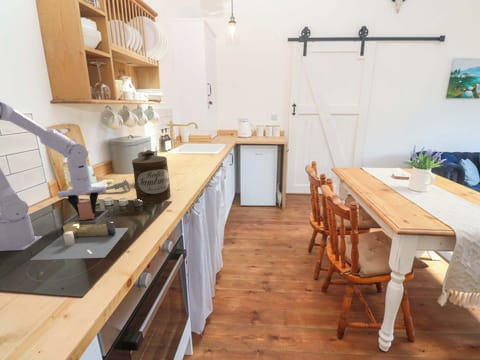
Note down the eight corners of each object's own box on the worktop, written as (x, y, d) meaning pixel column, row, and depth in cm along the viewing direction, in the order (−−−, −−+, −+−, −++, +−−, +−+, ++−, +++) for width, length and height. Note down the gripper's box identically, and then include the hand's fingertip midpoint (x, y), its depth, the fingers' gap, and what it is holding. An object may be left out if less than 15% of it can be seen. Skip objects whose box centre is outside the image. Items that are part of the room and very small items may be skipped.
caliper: (130, 190, 133) (128, 178, 131) (130, 191, 132) (128, 179, 130) (85, 194, 128) (83, 182, 126) (85, 195, 127) (82, 182, 125)
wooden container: (141, 206, 111) (134, 154, 105) (133, 196, 123) (127, 149, 117) (175, 198, 119) (170, 150, 113) (164, 190, 131) (160, 146, 125)
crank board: (30, 263, 72) (26, 247, 70) (69, 232, 89) (66, 219, 87) (105, 260, 72) (102, 244, 71) (129, 230, 89) (127, 217, 88)
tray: (64, 229, 91) (63, 222, 90) (81, 216, 102) (80, 210, 101) (96, 228, 91) (95, 221, 91) (110, 215, 102) (109, 209, 101)
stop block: (80, 220, 93) (77, 204, 92) (82, 215, 97) (79, 200, 95) (93, 218, 95) (90, 202, 93) (94, 214, 98) (91, 199, 97)
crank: (62, 239, 82) (59, 226, 80) (70, 232, 86) (67, 220, 85) (112, 237, 82) (110, 225, 81) (118, 231, 86) (116, 219, 85)
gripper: (52, 183, 86) (61, 221, 90) (102, 178, 91) (108, 214, 95) (58, 177, 92) (66, 213, 96) (104, 173, 97) (109, 207, 101)
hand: (87, 213), depth 96 cm, fingers closed on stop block, 4 cm apart
